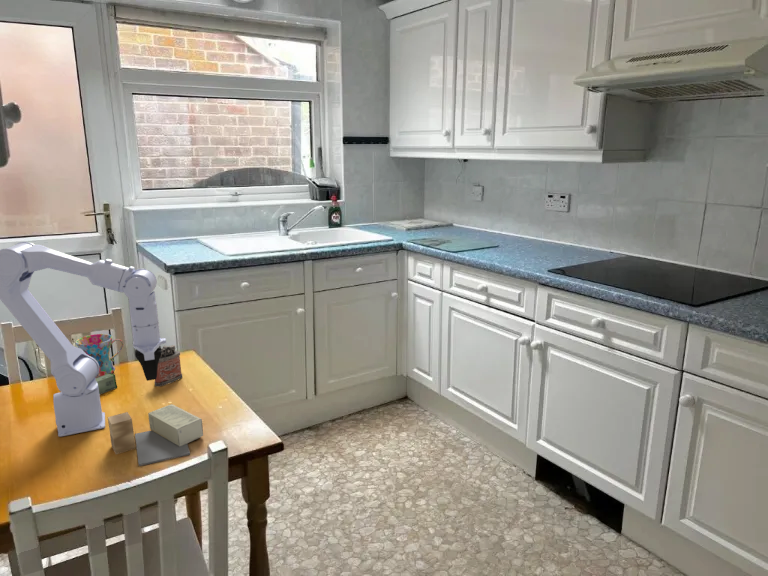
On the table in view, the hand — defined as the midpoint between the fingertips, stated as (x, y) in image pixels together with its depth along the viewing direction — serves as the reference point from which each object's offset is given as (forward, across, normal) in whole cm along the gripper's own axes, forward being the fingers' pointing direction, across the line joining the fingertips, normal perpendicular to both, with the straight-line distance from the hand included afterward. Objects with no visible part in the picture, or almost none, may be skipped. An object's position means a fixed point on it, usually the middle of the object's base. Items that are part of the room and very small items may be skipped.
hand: (151, 378), depth 133 cm
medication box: (+11, +22, +14) cm, 28 cm away
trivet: (+10, -13, 0) cm, 17 cm away
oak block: (+10, -11, +7) cm, 17 cm away
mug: (+11, +36, +12) cm, 40 cm away
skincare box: (+8, -4, -1) cm, 9 cm away
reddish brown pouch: (+11, +23, -5) cm, 25 cm away
